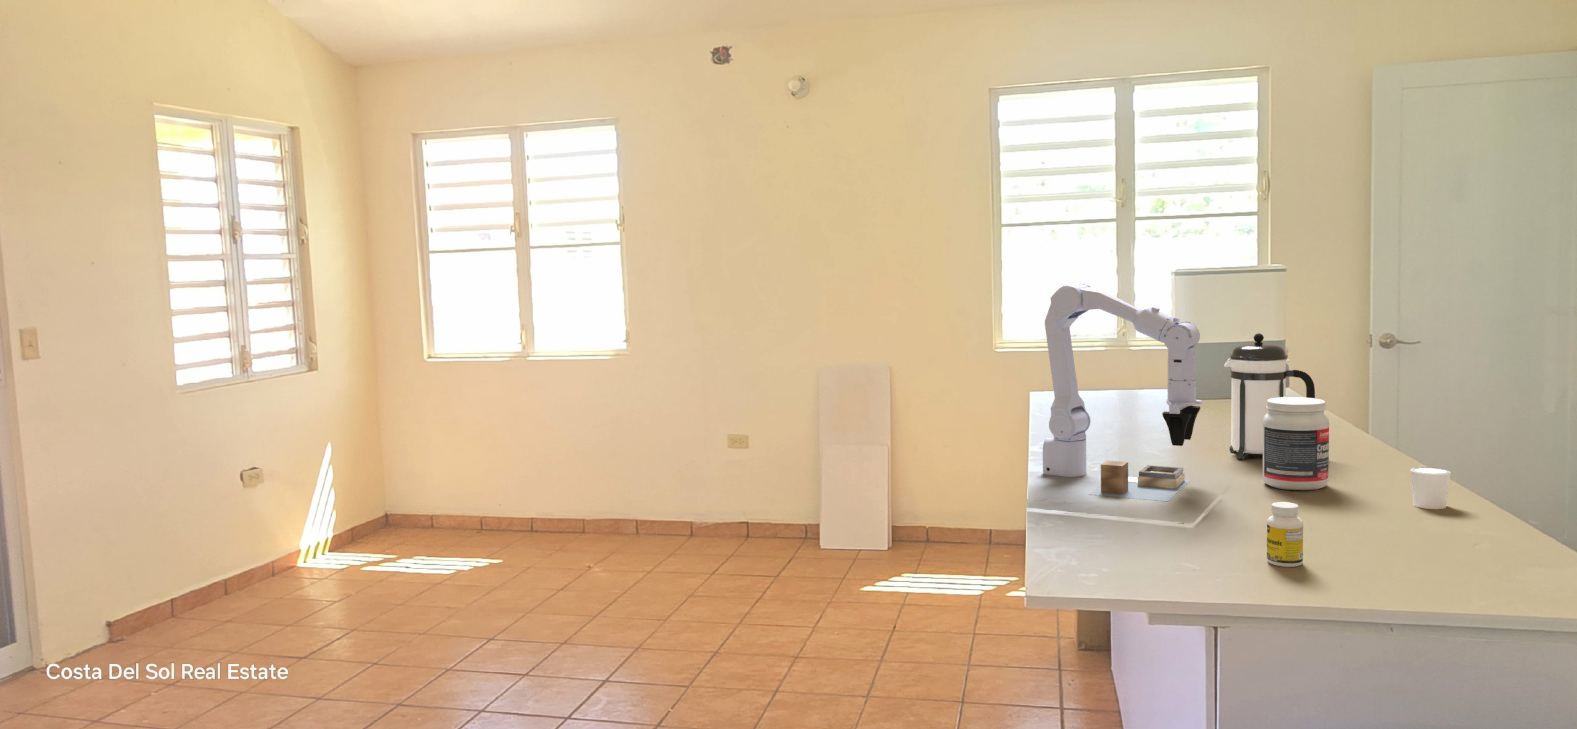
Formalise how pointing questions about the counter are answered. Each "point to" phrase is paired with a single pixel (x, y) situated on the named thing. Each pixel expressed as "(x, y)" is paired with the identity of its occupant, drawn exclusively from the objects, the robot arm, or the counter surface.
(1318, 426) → the supplement tub
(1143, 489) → the board
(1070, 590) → the counter surface
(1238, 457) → the coffee press
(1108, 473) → the walnut block
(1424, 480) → the white cup
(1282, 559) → the supplement bottle
